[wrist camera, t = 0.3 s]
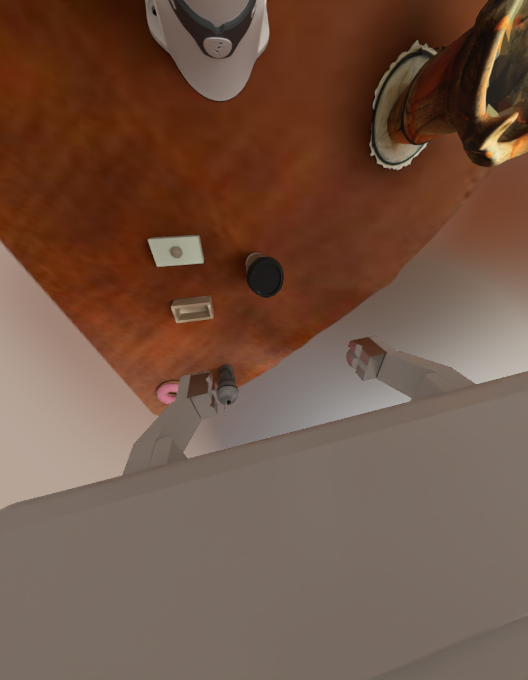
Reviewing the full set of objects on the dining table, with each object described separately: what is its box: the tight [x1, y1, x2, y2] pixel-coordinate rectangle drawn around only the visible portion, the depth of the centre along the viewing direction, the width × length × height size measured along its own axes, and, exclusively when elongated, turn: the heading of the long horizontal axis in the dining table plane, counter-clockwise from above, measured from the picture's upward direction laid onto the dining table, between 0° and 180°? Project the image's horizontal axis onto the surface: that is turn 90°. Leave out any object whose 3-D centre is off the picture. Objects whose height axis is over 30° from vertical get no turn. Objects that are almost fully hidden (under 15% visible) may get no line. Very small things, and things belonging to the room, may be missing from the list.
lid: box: [147, 235, 204, 267], centre depth 45 cm, size 6×11×5 cm, turn 92°
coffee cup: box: [246, 252, 284, 298], centre depth 46 cm, size 8×8×15 cm
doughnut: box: [157, 381, 179, 404], centre depth 70 cm, size 11×11×4 cm
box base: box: [171, 295, 214, 323], centre depth 53 cm, size 5×10×5 cm, turn 92°
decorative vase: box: [369, 0, 528, 170], centre depth 30 cm, size 21×23×28 cm
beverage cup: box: [217, 364, 238, 416], centre depth 63 cm, size 7×7×20 cm
